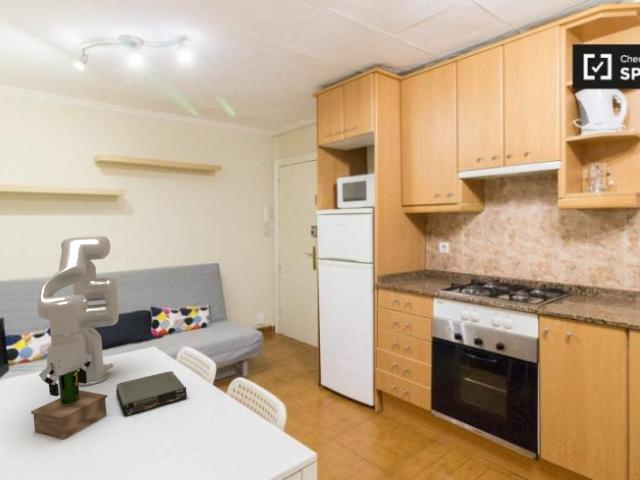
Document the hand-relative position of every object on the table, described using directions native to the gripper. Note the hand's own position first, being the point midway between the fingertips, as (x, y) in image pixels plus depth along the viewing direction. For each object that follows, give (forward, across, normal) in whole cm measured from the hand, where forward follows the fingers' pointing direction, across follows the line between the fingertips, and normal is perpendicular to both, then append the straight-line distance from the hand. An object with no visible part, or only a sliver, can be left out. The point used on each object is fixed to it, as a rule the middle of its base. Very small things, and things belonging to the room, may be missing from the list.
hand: (69, 388), depth 130 cm
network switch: (+12, -23, +11) cm, 28 cm away
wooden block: (+12, 0, 0) cm, 12 cm away
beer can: (+5, 0, 0) cm, 5 cm away
